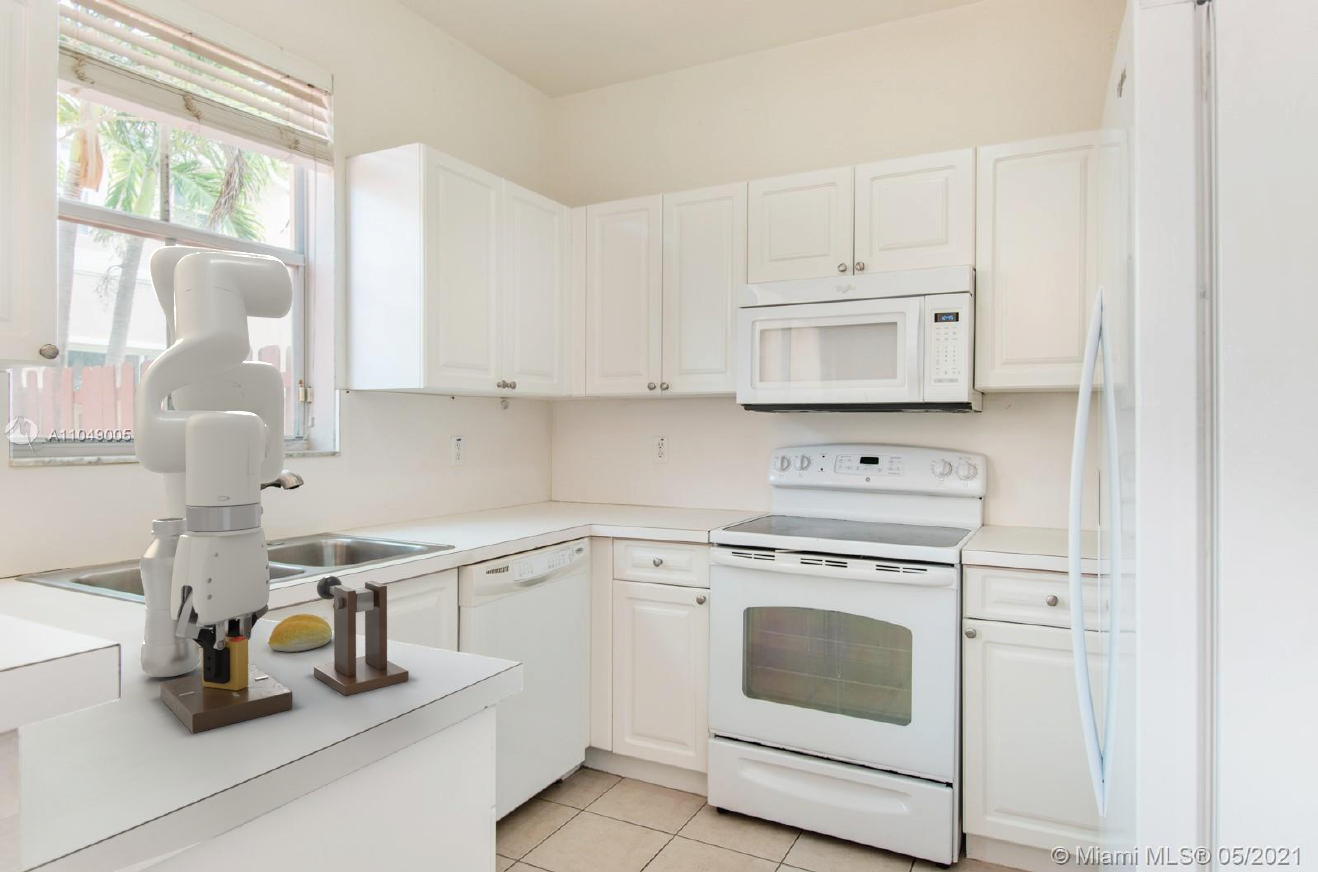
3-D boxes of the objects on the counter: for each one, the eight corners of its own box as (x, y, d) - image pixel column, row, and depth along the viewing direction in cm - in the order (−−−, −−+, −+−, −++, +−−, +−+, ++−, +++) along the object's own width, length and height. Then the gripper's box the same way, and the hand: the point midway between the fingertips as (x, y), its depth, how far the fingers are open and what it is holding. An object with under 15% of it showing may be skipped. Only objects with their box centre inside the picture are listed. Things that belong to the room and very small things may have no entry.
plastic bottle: (173, 685, 95) (171, 523, 95) (127, 681, 97) (125, 522, 96) (213, 668, 102) (212, 517, 101) (169, 665, 103) (168, 515, 103)
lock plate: (160, 698, 91) (160, 680, 91) (252, 679, 98) (252, 662, 98) (192, 733, 81) (192, 712, 81) (292, 708, 88) (292, 689, 88)
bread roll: (266, 655, 107) (266, 627, 107) (274, 638, 116) (273, 612, 116) (330, 649, 110) (330, 621, 110) (333, 633, 119) (333, 607, 119)
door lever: (313, 599, 105) (313, 575, 105) (336, 595, 107) (336, 572, 107) (352, 616, 96) (352, 590, 96) (377, 612, 98) (377, 587, 98)
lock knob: (202, 686, 89) (201, 636, 89) (213, 681, 91) (213, 633, 90) (237, 690, 88) (237, 640, 88) (248, 685, 89) (248, 636, 89)
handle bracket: (313, 675, 99) (313, 584, 99) (374, 662, 105) (374, 575, 104) (345, 695, 92) (345, 597, 92) (408, 680, 97) (408, 587, 97)
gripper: (251, 510, 97) (251, 656, 98) (135, 527, 82) (136, 698, 83) (300, 513, 95) (301, 661, 96) (191, 530, 80) (192, 706, 80)
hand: (225, 677), depth 89 cm, fingers closed on lock knob
